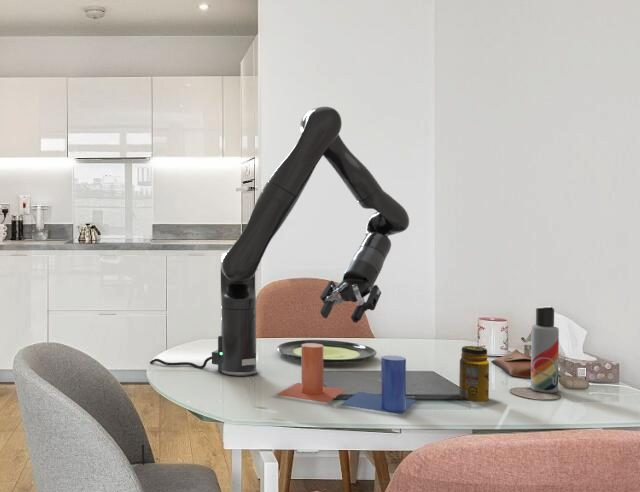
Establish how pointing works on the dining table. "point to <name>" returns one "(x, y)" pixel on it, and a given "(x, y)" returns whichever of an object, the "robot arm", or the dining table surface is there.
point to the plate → (330, 350)
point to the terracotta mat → (325, 397)
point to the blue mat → (371, 402)
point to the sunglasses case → (515, 364)
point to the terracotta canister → (312, 369)
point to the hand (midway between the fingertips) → (338, 318)
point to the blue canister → (393, 383)
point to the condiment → (474, 374)
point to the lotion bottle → (544, 352)
